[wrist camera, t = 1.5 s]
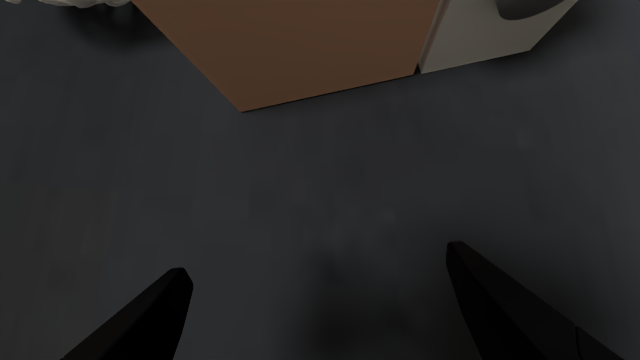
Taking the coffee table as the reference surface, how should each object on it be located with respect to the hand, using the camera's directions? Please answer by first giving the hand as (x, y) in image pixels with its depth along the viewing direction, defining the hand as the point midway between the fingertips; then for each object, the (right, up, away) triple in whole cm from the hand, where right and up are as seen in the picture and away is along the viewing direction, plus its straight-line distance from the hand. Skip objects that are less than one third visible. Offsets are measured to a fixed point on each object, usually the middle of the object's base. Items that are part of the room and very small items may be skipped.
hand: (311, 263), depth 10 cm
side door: (+1, +11, +15) cm, 18 cm away
